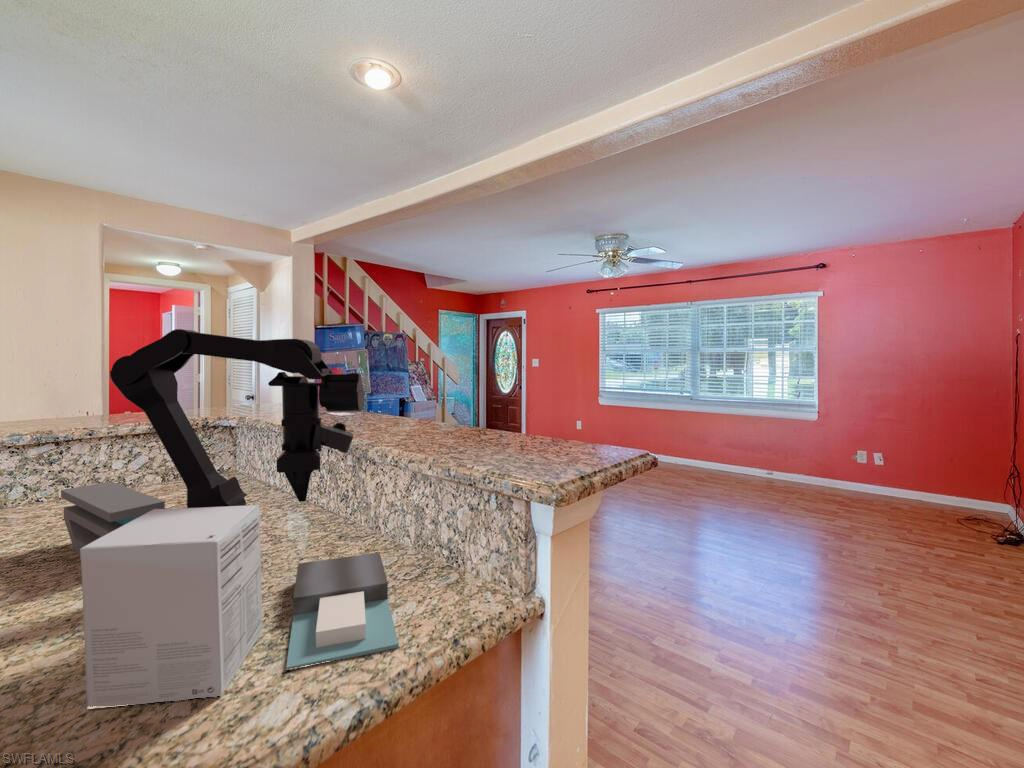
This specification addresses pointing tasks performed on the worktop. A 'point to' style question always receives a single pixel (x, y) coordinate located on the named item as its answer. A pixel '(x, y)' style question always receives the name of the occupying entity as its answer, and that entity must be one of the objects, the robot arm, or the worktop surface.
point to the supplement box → (171, 604)
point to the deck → (339, 580)
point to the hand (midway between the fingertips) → (302, 501)
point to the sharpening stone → (103, 510)
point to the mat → (377, 640)
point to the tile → (341, 619)
